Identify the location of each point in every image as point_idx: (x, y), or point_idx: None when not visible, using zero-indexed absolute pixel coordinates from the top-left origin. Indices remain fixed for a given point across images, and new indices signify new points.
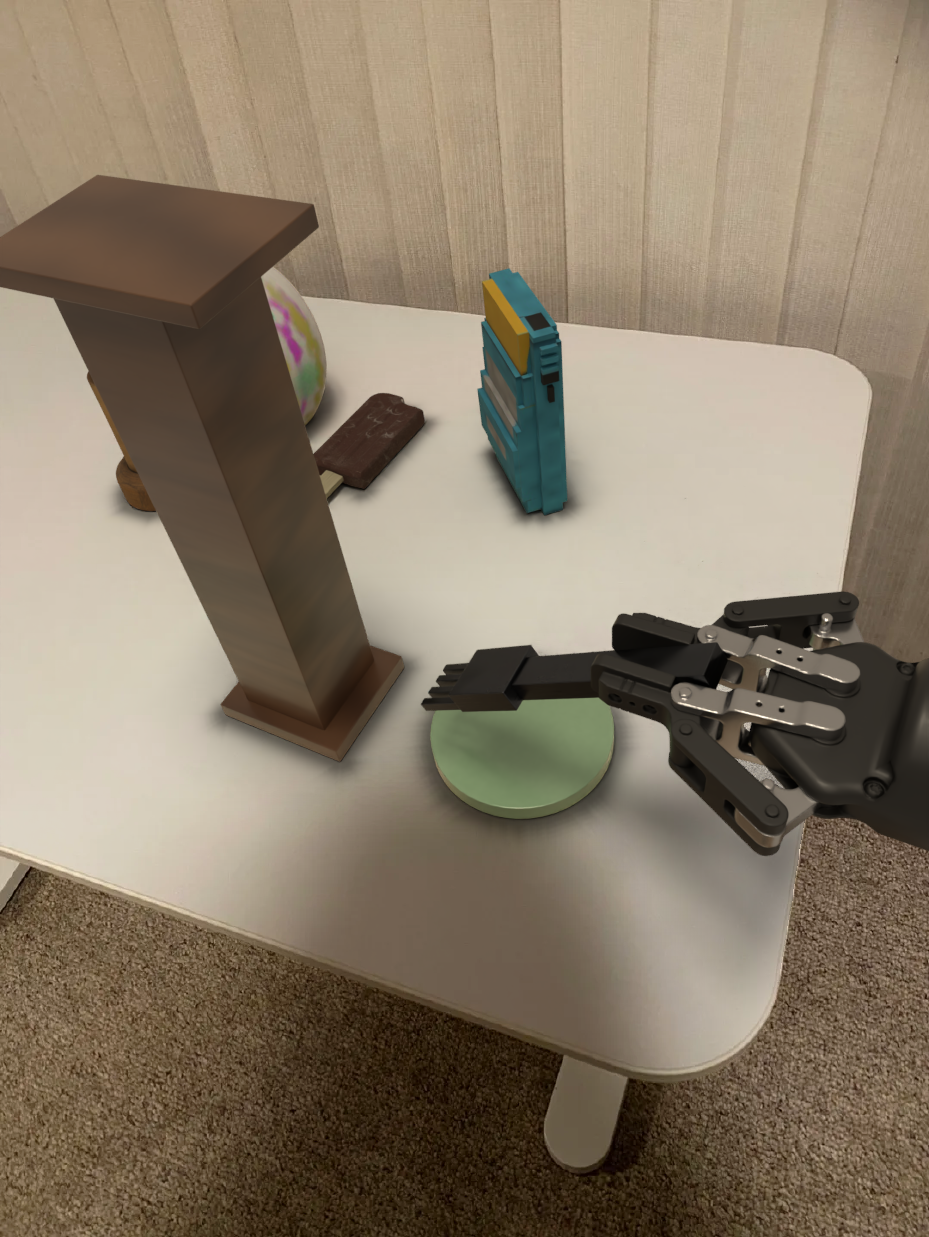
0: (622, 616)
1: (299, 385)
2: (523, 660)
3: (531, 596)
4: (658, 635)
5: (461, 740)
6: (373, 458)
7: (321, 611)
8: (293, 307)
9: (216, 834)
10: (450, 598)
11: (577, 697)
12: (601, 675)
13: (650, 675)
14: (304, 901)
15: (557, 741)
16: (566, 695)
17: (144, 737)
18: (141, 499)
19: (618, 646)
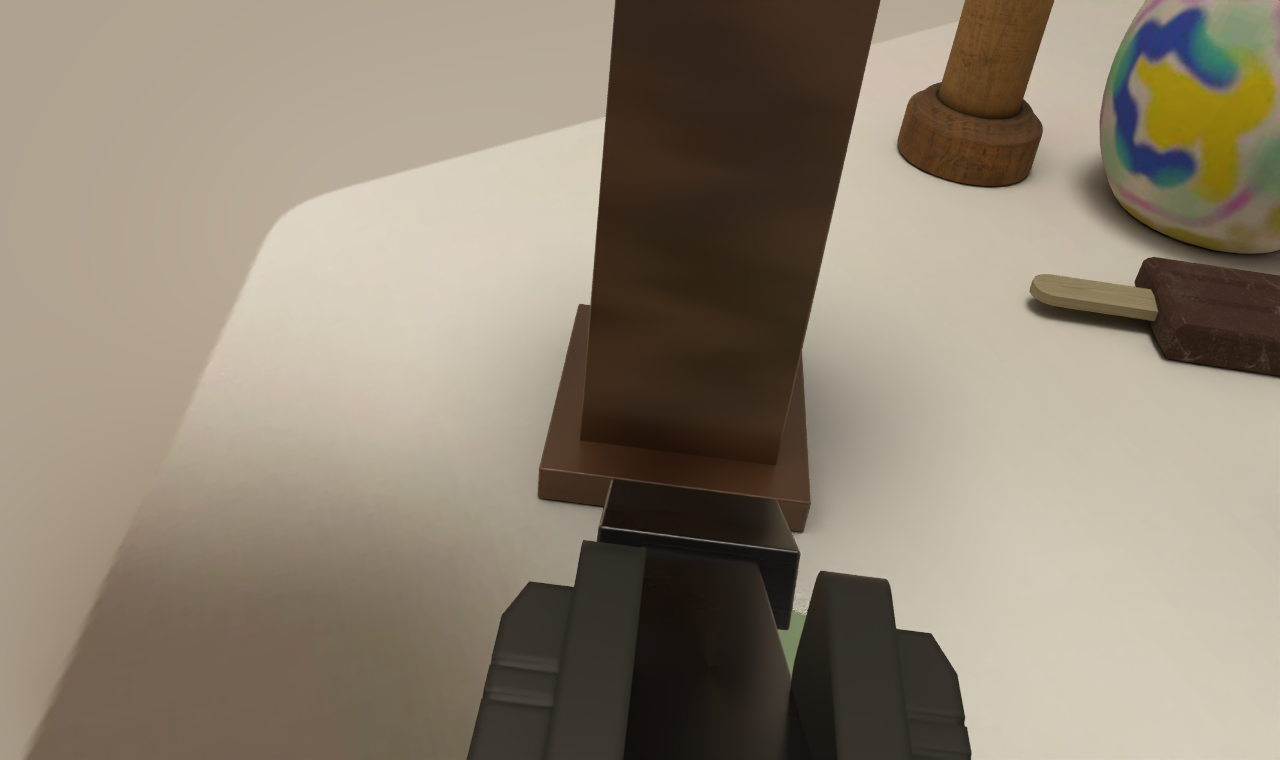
0: (869, 580)
1: (1261, 157)
2: (735, 548)
3: (1149, 715)
4: (834, 727)
5: None
6: (1235, 330)
7: (711, 220)
8: None
9: (341, 386)
10: (1023, 559)
11: None
12: (553, 586)
13: (580, 737)
14: (219, 535)
15: None
16: None
17: (500, 264)
18: (907, 131)
19: (797, 677)
